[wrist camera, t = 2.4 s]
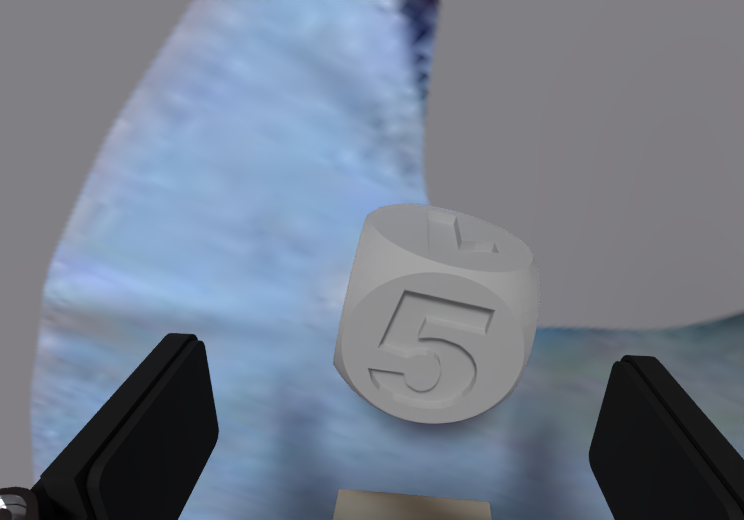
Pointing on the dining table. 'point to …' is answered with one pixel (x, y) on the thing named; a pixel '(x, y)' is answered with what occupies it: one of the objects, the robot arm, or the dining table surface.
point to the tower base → (405, 507)
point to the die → (436, 314)
